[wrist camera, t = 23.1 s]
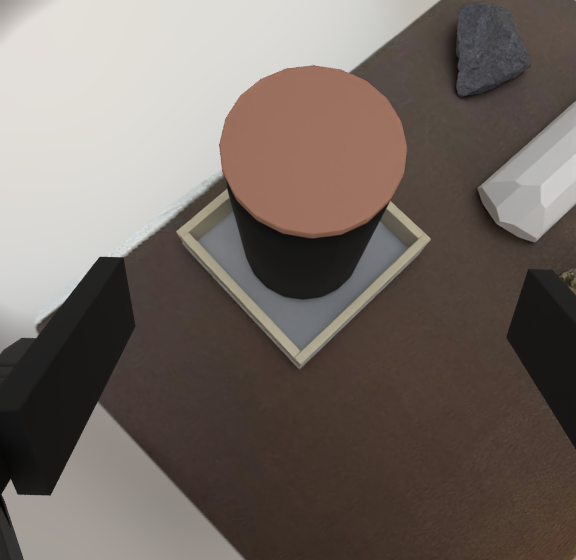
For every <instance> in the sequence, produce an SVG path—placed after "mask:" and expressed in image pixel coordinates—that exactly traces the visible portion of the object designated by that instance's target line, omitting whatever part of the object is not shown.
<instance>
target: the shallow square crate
mask: <svg viewBox="0 0 576 560" xmlns="http://www.w3.org/2000/svg"><path fill="white" fill-rule="evenodd" d="M176 233H177V234H178V236H179V237H180V239H181V240H182V244H183V246H184V247H185V248H186V249H187V250H188V251H189V252H190V254H191V255H192V256H193V257H194V258H195V259H196V260H197V261H198V262H199V263H200V264H201V265H202V266H203V267H204V269H205V270H206V271H207V272H208V273H209V274H210V275H211V276H212V277H213V278H214V279H215V280H216V281H217V282H218V284H219V285H220V286H221V287H222V288H223V289H224V290H225V291H226V292H227V293H228V294H229V295H230V296H231V297H232V299H233V300H234V301H235V302H236V303H237V304H238V305H239V306H240V307H241V308H242V309H243V310H244V311H245V312H246V314H247V315H248V316H249V317H250V318H251V319H252V320H253V321H254V322H255V323H256V324H257V325H258V326H259V327H260V328H261V330H262V331H263V332H264V333H265V334H266V335H267V336H268V337H269V338H270V339H271V340H272V341H273V342H274V343H275V345H276V346H277V347H278V348H279V349H280V350H281V351H282V352H283V353H284V354H285V355H286V356H287V357H288V358H289V360H290V361H291V362H292V363H293V364H294V365H295V366H296V367H297V368H298V369H299V370H300V369H301V368H302V367H303V366H304V365H305V364H306V363H307V362H308V361H309V360H310V359H311V358H312V357H313V356H314V355H315V354H316V353H317V352H318V351H319V350H321V349H322V348H323V347H324V346H325V345H326V344H327V343H328V342H329V341H330V340H331V339H332V338H333V337H334V336H335V335H336V334H337V333H338V332H339V331H340V330H341V329H342V328H343V327H344V326H345V325H346V324H348V323H349V322H350V321H351V320H352V319H353V318H354V317H355V316H356V315H357V314H358V313H359V312H360V311H361V310H362V309H363V308H364V307H365V306H366V305H367V304H368V303H369V302H370V301H371V300H372V299H373V298H374V297H376V296H377V295H378V294H379V293H380V292H381V291H382V290H383V289H384V288H385V287H386V286H387V285H388V284H389V283H390V282H391V281H392V280H393V279H394V278H395V277H396V276H397V275H398V274H399V273H400V272H401V271H402V270H404V269H405V268H406V267H407V266H408V265H409V264H410V263H411V262H412V261H413V260H414V259H415V258H416V257H417V256H418V255H419V254H420V253H421V252H422V251H423V248H424V247H425V246H426V245H427V244H428V242H429V241H430V240H431V239H430V238H429V237H428V236H427V235H426V234H424V232H423V231H422V230H421V229H420V228H419V227H418V226H417V225H415V224H414V223H413V222H412V221H411V220H410V219H409V218H408V217H407V216H406V215H405V214H404V213H403V212H402V211H400V210H399V209H398V208H397V207H396V206H395V205H394V204H393V203H392V202H391V201H390V203H389V205H388V207H387V208H386V210H385V212H384V214H383V216H382V218H381V220H380V222H379V224H378V226H377V228H376V230H375V232H374V234H373V235H372V237H371V239H370V241H369V243H368V245H367V247H366V249H365V251H364V253H363V255H362V257H361V258H360V260H359V262H358V264H357V266H356V268H355V270H354V272H353V274H352V276H351V277H350V278H349V279H348V280H347V281H346V282H345V283H344V284H343V285H342V286H341V287H340V288H339V289H337V290H335V291H333V292H331V293H329V294H327V295H325V296H323V297H319V298H312V299H304V300H301V299H295V298H289V297H284V296H282V295H280V294H278V293H276V292H274V291H272V290H270V289H268V288H267V287H266V286H265V285H264V284H263V283H262V282H261V281H260V280H259V279H258V278H257V277H256V276H255V275H254V273H253V271H252V269H251V267H250V265H249V263H248V261H247V259H246V255H245V252H244V248H243V245H242V241H241V237H240V234H239V230H238V227H237V223H236V220H235V216H234V212H233V209H232V205H231V202H230V198H229V194H228V190H227V189H226V190H225V191H224V192H223V193H222V194H220V195H219V196H218V197H217V198H216V199H214V200H213V201H212V202H211V203H210V204H209V205H207V206H206V207H205V208H204V209H203V210H201V211H200V212H199V213H198V214H197V215H195V216H194V217H193V218H192V219H191V220H190V221H188V222H187V223H186V224H185V225H184V226H182V227H181V228H180V229H179V230H178V231H177V232H176Z"/></svg>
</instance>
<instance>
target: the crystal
mask: <svg viewBox="0 0 576 560" xmlns="http://www.w3.org/2000/svg"><path fill="white" fill-rule="evenodd" d="M477 189H478V192H479V195H480V198H481V201H482V204H483V205H484V206H485V208H486V209H487V211H488V212H489V214H490V215H491V217H492V218H493V220H494V221H495V223H496V224H497V225H499V226H501V227H502V228H504V229H506V230H507V231H509V232H510V233H512V234H514V235H515V236H517V237H519V238H522V239H525V240H529V241H532V242H536V241H537V240H538V239H539V238H540V237H541V236H542V235H543V234H544V233H546V232H547V231H548V230H549V229H550V228H551V227H552V226H553V225H554V224H555V223H556V222H557V221H558V220H559V219H560V218H561V217H562V216H563V215H565V214H566V213H567V212H568V211H569V210H570V209H571V208H572V207H573V206H574V205H575V204H576V101H575V102H574V103H573V104H571V105H570V106H569V107H568V108H567V109H566V110H565V111H564V112H562V113H561V114H560V115H559V116H558V117H557V118H556V119H555V120H554V121H552V122H551V123H550V124H549V125H548V126H547V127H546V128H545V129H543V130H542V131H541V132H540V133H539V134H538V135H537V136H536V137H534V138H533V139H532V140H531V141H530V142H529V143H528V144H527V145H525V146H524V147H523V148H522V149H521V150H520V151H519V152H518V153H516V154H515V155H514V156H513V157H512V158H511V159H510V160H509V161H508V162H506V163H505V164H504V165H503V166H502V167H501V168H500V169H499V170H497V171H496V172H495V173H494V174H493V175H492V176H491V177H490V178H488V179H487V180H486V181H485V182H484V183H483V184H482V185H481V186H479V187H478V188H477Z"/></svg>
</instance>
